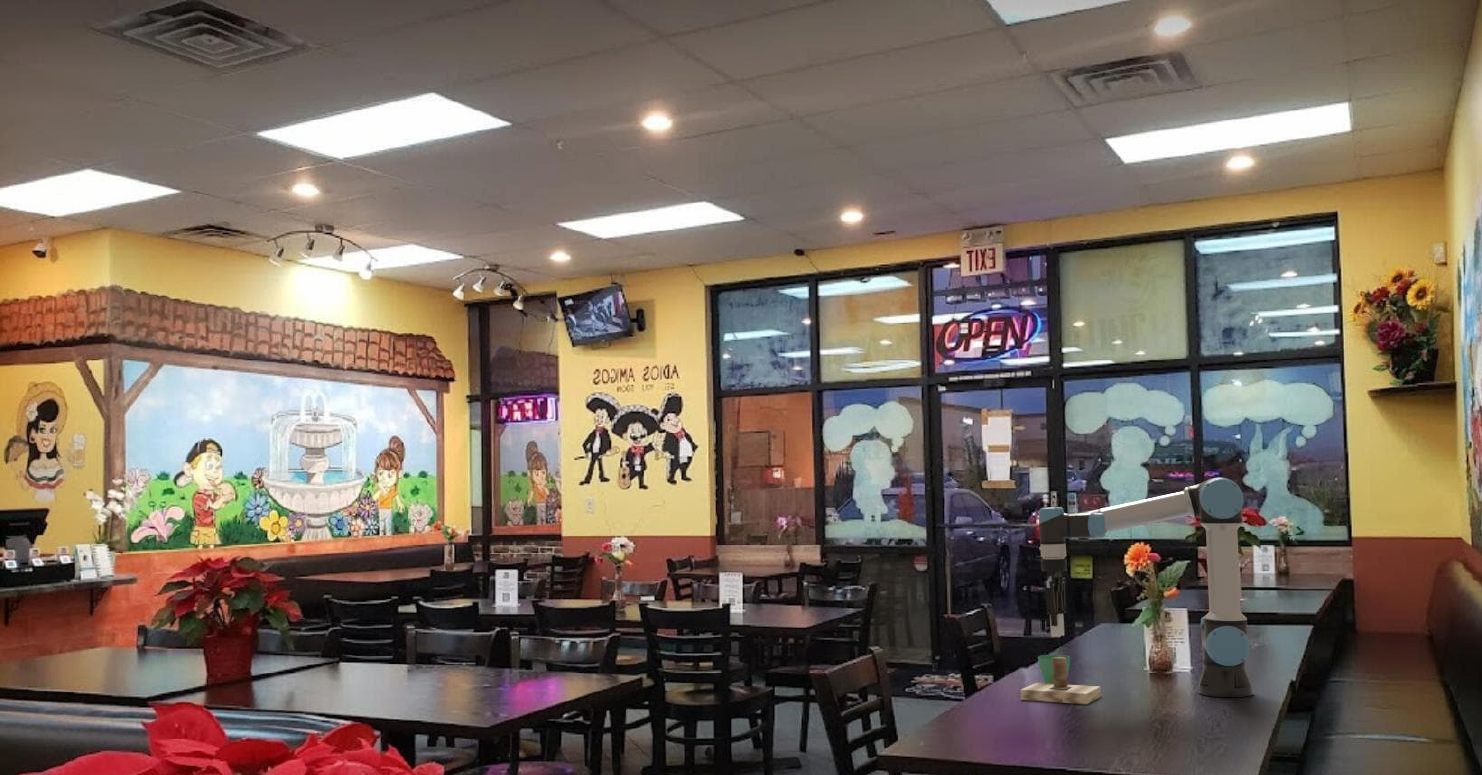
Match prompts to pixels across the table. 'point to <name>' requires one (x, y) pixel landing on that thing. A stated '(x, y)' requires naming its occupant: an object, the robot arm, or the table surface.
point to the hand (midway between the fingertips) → (1057, 635)
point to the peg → (1059, 673)
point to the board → (1061, 693)
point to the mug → (1050, 666)
